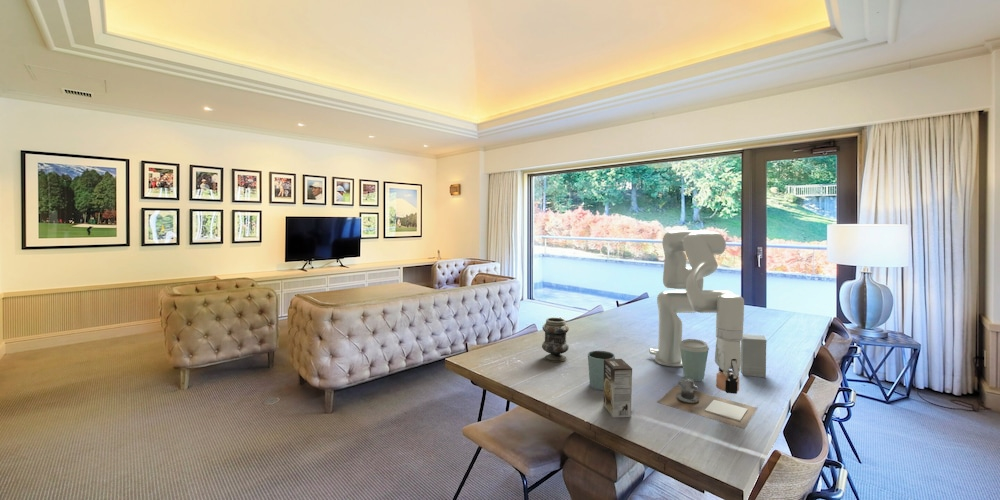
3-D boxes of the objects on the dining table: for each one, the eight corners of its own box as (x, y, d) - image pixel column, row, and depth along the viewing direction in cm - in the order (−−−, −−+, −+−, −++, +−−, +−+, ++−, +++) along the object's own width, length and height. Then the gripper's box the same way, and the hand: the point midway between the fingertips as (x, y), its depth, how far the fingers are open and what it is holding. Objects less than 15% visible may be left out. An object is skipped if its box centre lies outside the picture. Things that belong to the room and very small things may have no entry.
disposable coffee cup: (706, 387, 150) (708, 348, 149) (675, 381, 156) (676, 343, 155) (709, 377, 159) (710, 340, 158) (679, 372, 165) (680, 336, 164)
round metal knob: (673, 399, 138) (673, 379, 137) (680, 393, 143) (680, 374, 142) (694, 406, 133) (695, 385, 133) (701, 399, 138) (702, 379, 138)
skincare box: (763, 372, 164) (764, 334, 163) (766, 379, 158) (768, 339, 157) (739, 369, 168) (740, 332, 167) (741, 375, 161) (742, 337, 160)
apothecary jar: (572, 357, 184) (573, 318, 183) (562, 365, 174) (562, 324, 173) (548, 352, 191) (549, 315, 189) (537, 359, 181) (537, 320, 179)
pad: (704, 411, 130) (704, 409, 130) (713, 400, 137) (713, 399, 137) (740, 421, 123) (740, 420, 123) (747, 410, 130) (747, 408, 130)
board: (656, 404, 136) (656, 402, 136) (675, 388, 149) (675, 385, 149) (744, 432, 119) (744, 428, 119) (757, 410, 132) (757, 407, 132)
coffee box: (602, 405, 136) (603, 358, 135) (620, 404, 137) (621, 357, 136) (612, 418, 127) (613, 368, 126) (631, 417, 128) (632, 367, 127)
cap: (713, 383, 133) (713, 369, 133) (734, 384, 132) (735, 370, 131) (719, 391, 127) (720, 376, 126) (742, 392, 125) (742, 377, 125)
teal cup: (599, 393, 146) (600, 360, 145) (581, 383, 155) (582, 352, 154) (620, 387, 151) (621, 356, 150) (601, 378, 159) (602, 348, 159)
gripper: (708, 326, 137) (707, 377, 138) (725, 340, 120) (723, 398, 122) (732, 327, 136) (731, 379, 137) (753, 342, 119) (750, 401, 120)
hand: (727, 388), depth 129 cm, fingers closed on cap, 6 cm apart
